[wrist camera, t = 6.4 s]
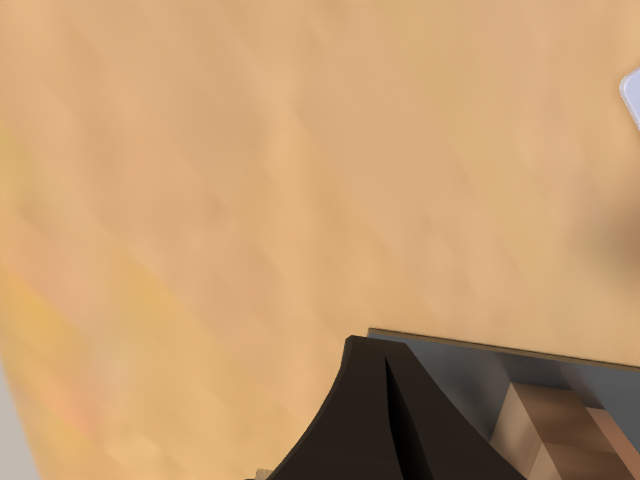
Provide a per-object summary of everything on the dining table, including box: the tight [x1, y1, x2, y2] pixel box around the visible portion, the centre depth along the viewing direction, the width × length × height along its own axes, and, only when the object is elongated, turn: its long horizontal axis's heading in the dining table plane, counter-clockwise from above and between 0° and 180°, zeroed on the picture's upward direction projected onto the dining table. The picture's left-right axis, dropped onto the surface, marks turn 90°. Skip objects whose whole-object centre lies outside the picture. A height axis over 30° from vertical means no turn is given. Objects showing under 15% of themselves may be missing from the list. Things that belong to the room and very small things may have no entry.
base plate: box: [367, 328, 640, 455], centre depth 24 cm, size 16×10×1 cm, turn 82°
